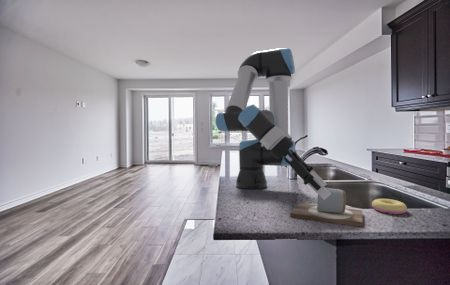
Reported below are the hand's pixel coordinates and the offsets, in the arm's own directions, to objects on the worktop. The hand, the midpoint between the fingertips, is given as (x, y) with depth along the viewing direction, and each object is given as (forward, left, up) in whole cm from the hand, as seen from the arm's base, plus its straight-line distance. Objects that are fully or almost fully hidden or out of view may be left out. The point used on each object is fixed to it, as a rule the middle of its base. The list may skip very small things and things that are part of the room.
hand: (325, 191), depth 80 cm
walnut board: (0, 0, -8) cm, 8 cm away
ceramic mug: (-2, +1, -7) cm, 7 cm away
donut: (-15, +18, -8) cm, 25 cm away
